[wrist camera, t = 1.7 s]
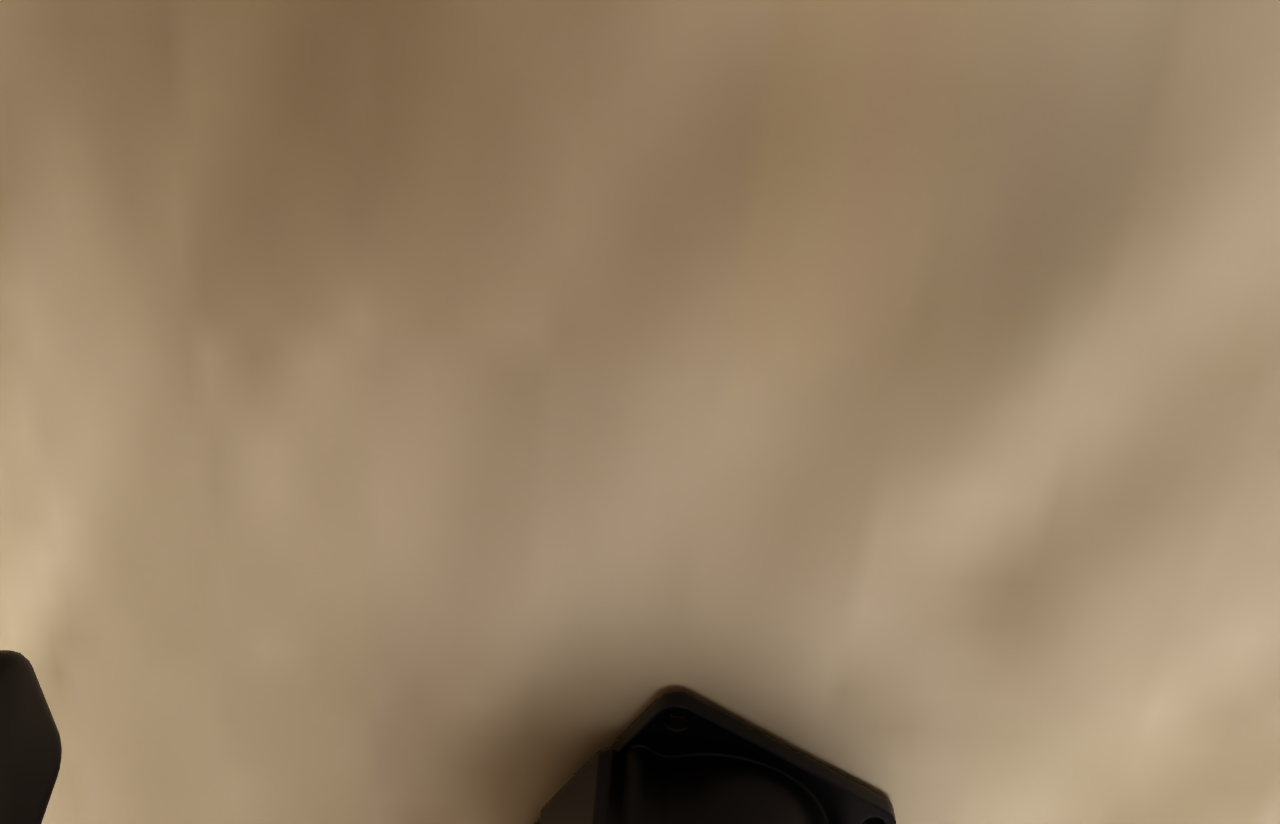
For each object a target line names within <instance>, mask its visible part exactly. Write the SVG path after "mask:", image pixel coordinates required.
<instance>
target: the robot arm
mask: <svg viewBox="0 0 1280 824" xmlns="http://www.w3.org/2000/svg"><path fill="white" fill-rule="evenodd" d="M671 714H682V715H683V716H677V717H676V716H672V715H671ZM61 750H62V748H61V740H60V735H59V732H58V729H57V727H56V724H55V722H54V719H53V717H52V714H51V712H50V709H49V707H48V704H47V702H46V699H45V697H44V694H43V692H42V689H41V687H40V684H39V682H38V679H37V677H36V674H35V672H34V669H33V667H32V665H31V663H30V662H29V660H28V659H26V658H25V657H24V656H23V655H22V654H21V653H18V652H14V651H8V650H0V824H41V822H42V820H43V817H44V814H45V811H46V808H47V805H48V802H49V799H50V796H51V794H52V791H53V788H54V785H55V782H56V779H57V776H58V772H59V769H60V763H61ZM535 824H896V820H895V814H894V809H893V806H892V804H891V802H890V801H888V800H887V799H886V798H884V797H882V796H880V795H878V794H876V793H874V792H873V791H871V790H869V789H867V788H865V787H863V786H861V785H859V784H858V783H856V782H854V781H852V780H850V779H848V778H846V777H844V776H842V775H841V774H839V773H837V772H835V771H833V770H831V769H829V768H827V767H825V766H824V765H822V764H820V763H818V762H816V761H814V760H812V759H810V758H808V757H807V756H805V755H803V754H801V753H799V752H797V751H795V750H793V749H791V748H790V747H788V746H786V745H784V744H782V743H780V742H778V741H776V740H775V739H773V738H771V737H769V736H767V735H765V734H763V733H761V732H759V731H758V730H756V729H754V728H752V727H750V726H748V725H746V724H744V723H742V722H741V721H739V720H737V719H735V718H733V717H731V716H729V715H727V714H725V713H724V712H722V711H720V710H718V709H716V708H714V707H712V706H710V705H708V704H707V703H705V702H703V701H701V700H699V699H697V698H695V697H693V696H692V695H689V694H686V693H683V692H671V693H667V694H664V695H663V696H661V697H660V698H658V699H657V700H656V701H655V702H654V703H653V704H652V705H651V706H650V707H649V708H648V709H647V710H646V711H645V713H644V714H643V715H642V716H641V717H640V718H639V719H638V720H637V721H636V722H635V723H634V724H633V725H632V726H631V727H630V728H629V729H628V730H627V731H626V732H625V733H624V734H623V735H622V736H621V737H620V738H619V739H618V740H617V741H616V742H615V743H614V744H613V745H612V746H611V747H610V748H609V747H608V748H606V749H604V750H601V751H599V752H597V753H596V754H595V755H594V756H593V757H592V758H591V759H590V760H589V761H588V762H587V763H586V764H585V765H584V766H583V767H582V768H581V769H580V770H579V771H578V772H577V774H576V775H575V776H574V777H573V778H572V779H571V780H570V781H569V782H568V783H567V784H566V785H565V786H564V787H563V788H562V789H561V790H560V791H559V792H558V793H557V794H556V795H555V796H554V797H553V798H552V799H551V800H550V801H549V802H548V803H547V804H546V805H545V806H544V807H543V809H542V811H541V817H540V818H539V819H538V821H537V822H536V823H535Z"/></svg>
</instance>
